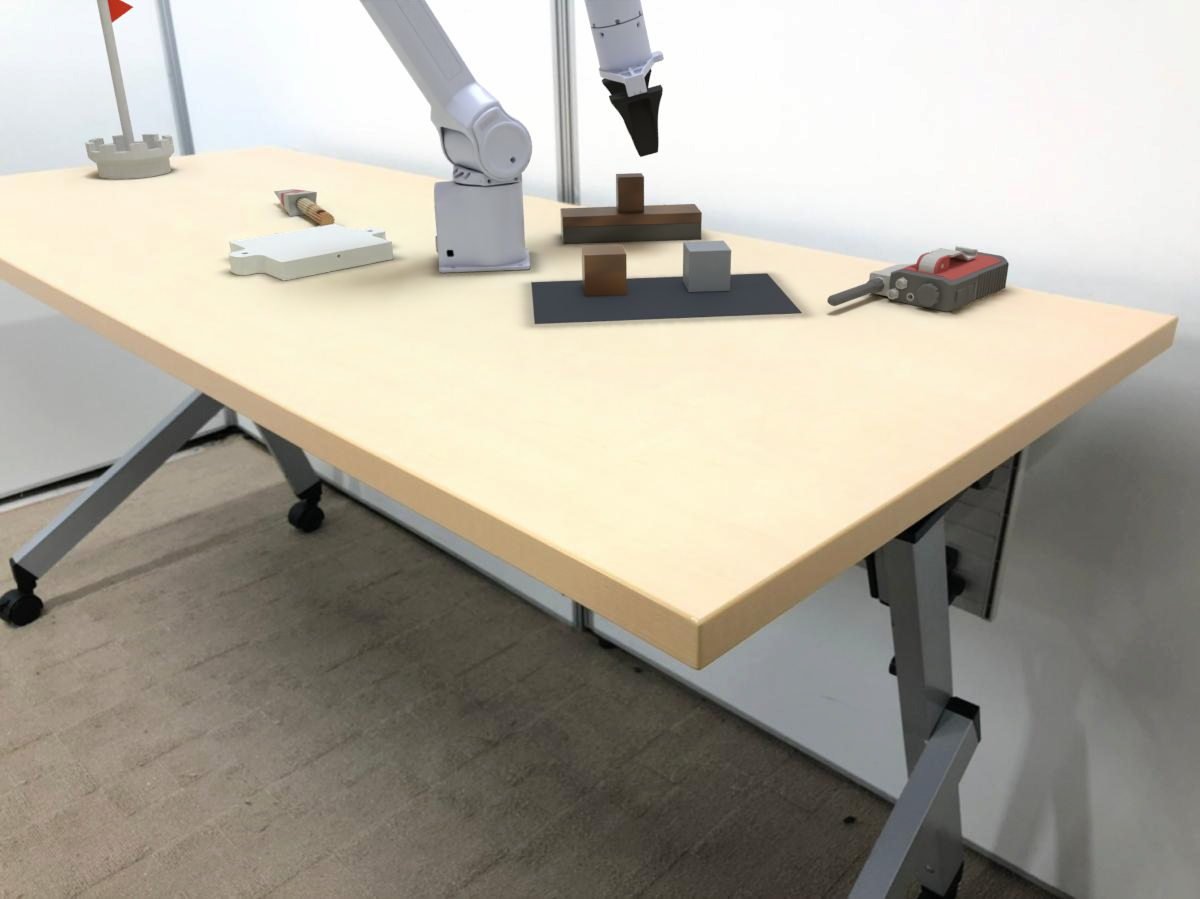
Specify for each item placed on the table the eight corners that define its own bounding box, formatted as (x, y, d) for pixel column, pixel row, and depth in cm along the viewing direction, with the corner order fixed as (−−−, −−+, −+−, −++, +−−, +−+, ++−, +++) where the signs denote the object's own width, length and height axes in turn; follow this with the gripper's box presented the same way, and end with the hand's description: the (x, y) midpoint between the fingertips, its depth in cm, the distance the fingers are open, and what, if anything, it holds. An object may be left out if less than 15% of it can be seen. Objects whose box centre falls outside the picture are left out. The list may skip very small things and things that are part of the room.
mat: (534, 325, 94) (534, 323, 94) (531, 284, 106) (531, 282, 106) (802, 314, 95) (802, 312, 95) (767, 275, 108) (767, 273, 108)
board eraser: (563, 244, 122) (561, 181, 119) (561, 235, 126) (559, 173, 123) (701, 240, 123) (702, 176, 120) (694, 230, 127) (695, 169, 124)
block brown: (585, 296, 101) (584, 255, 100) (582, 285, 105) (581, 245, 103) (626, 294, 102) (626, 253, 100) (622, 283, 105) (622, 243, 104)
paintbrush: (296, 178, 148) (340, 208, 132) (298, 197, 149) (343, 230, 133) (268, 180, 146) (310, 211, 130) (270, 200, 147) (312, 233, 132)
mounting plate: (260, 285, 108) (258, 266, 107) (209, 262, 117) (206, 245, 116) (413, 255, 118) (411, 237, 118) (355, 236, 127) (353, 220, 127)
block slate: (688, 292, 102) (689, 251, 100) (682, 281, 106) (683, 241, 104) (730, 290, 102) (731, 249, 101) (722, 280, 106) (723, 240, 104)
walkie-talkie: (933, 271, 108) (818, 314, 95) (938, 228, 106) (822, 265, 94) (1015, 287, 102) (905, 334, 90) (1022, 241, 100) (910, 283, 88)
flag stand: (124, 182, 165) (82, -29, 153) (75, 176, 172) (31, -28, 159) (194, 170, 175) (160, -30, 163) (145, 164, 182) (109, -28, 169)
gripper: (662, 21, 106) (689, 152, 113) (644, -1, 118) (669, 119, 125) (594, 39, 106) (625, 170, 113) (583, 16, 119) (611, 135, 126)
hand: (644, 144), depth 119 cm, fingers open, 7 cm apart
